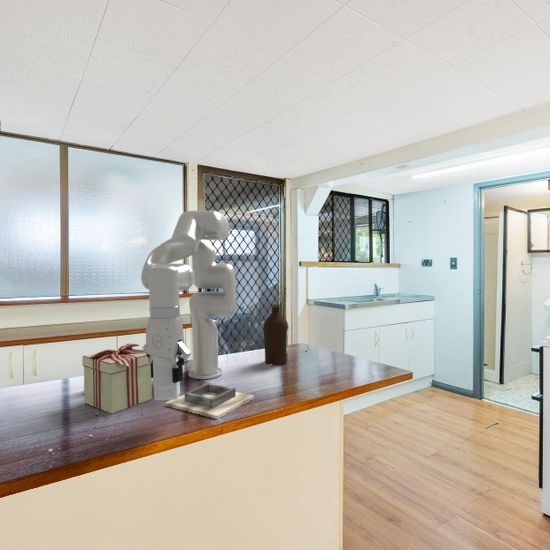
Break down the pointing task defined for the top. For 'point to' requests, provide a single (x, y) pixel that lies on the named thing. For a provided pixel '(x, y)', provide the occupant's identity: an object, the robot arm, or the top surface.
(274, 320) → the olive oil
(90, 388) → the gift box
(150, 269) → the robot arm
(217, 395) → the holder board
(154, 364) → the skincare box
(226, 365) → the top surface
